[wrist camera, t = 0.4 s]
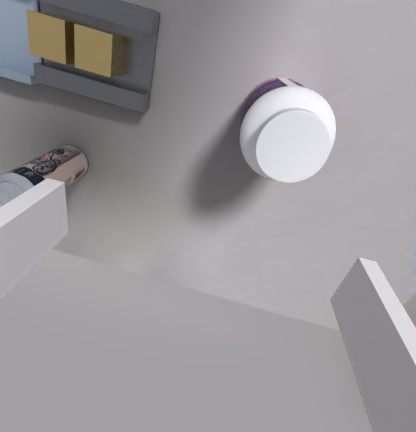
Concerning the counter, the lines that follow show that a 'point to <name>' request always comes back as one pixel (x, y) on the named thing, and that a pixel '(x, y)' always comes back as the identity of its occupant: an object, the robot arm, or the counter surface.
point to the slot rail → (132, 52)
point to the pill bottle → (286, 130)
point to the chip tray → (16, 41)
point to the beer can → (43, 172)
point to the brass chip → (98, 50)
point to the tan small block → (51, 37)
